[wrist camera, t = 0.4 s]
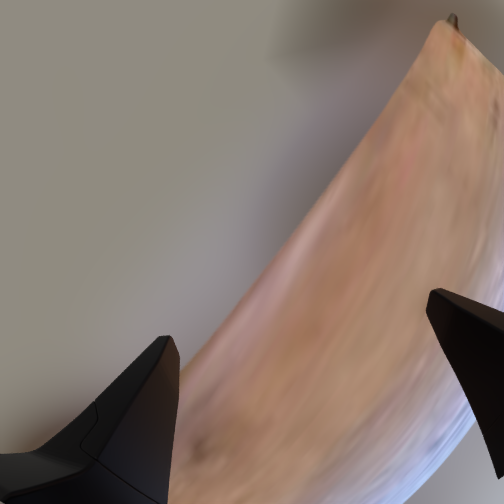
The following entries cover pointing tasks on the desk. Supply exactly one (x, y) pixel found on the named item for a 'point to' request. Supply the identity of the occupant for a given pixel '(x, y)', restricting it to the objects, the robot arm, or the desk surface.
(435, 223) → the desk surface
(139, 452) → the robot arm
